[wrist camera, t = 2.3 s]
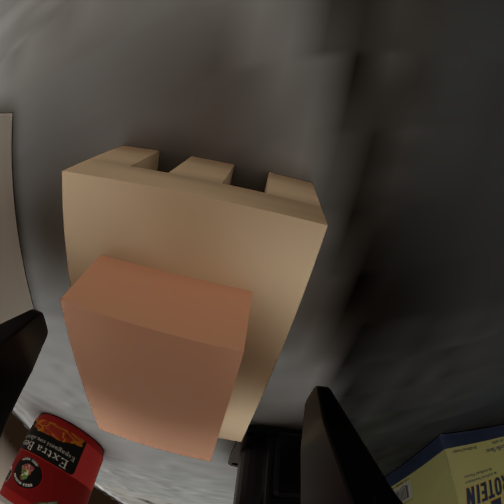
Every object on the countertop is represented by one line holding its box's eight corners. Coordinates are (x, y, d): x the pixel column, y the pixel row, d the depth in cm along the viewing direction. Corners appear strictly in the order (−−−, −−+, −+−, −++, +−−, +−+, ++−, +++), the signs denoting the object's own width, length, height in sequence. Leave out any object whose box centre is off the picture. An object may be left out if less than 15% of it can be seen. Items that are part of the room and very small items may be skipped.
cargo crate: (218, 415, 10) (210, 461, 9) (117, 388, 10) (99, 428, 8) (252, 291, 7) (244, 351, 6) (101, 254, 7) (60, 299, 6)
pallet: (248, 380, 14) (241, 441, 11) (125, 348, 14) (98, 402, 11) (311, 181, 10) (327, 225, 6) (124, 144, 9) (61, 171, 6)
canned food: (88, 427, 20) (46, 531, 10) (116, 463, 24) (89, 547, 14) (25, 401, 20) (-19, 486, 11) (58, 441, 24) (27, 515, 14)
